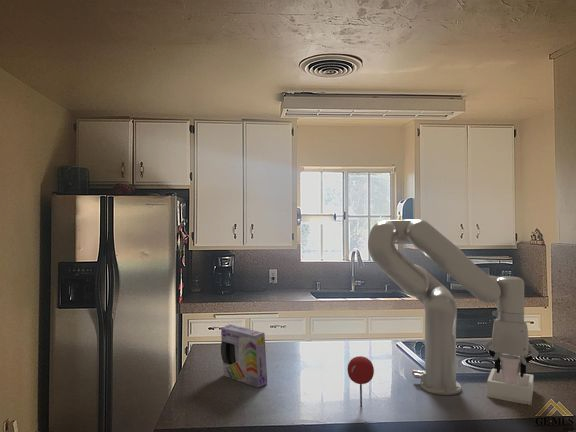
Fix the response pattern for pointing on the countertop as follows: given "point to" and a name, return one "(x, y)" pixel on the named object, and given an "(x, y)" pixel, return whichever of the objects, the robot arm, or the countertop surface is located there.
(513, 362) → the smoothie
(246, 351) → the cake pan box
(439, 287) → the robot arm
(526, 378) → the box
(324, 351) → the countertop surface
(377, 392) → the countertop surface
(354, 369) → the lollipop
